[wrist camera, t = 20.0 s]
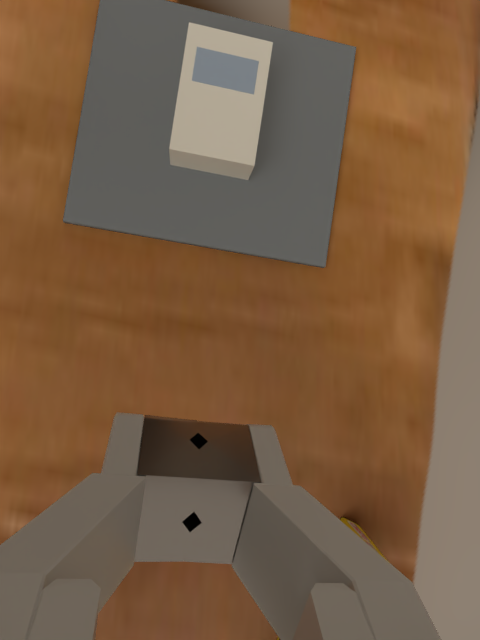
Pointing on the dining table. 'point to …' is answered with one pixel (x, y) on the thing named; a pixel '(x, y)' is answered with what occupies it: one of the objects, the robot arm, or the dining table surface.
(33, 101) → the dining table surface
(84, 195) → the mat
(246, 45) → the card deck
